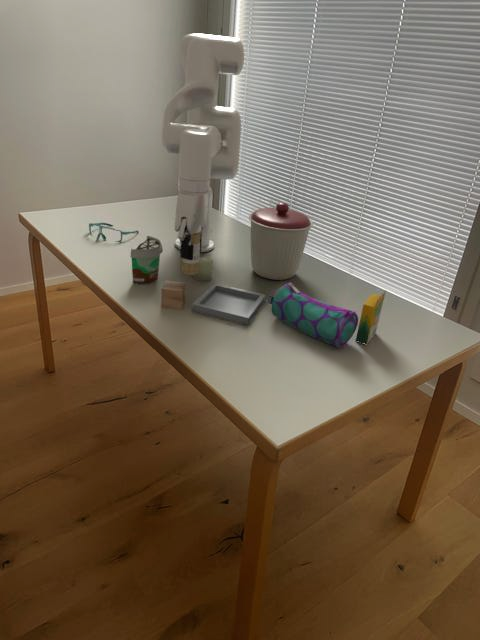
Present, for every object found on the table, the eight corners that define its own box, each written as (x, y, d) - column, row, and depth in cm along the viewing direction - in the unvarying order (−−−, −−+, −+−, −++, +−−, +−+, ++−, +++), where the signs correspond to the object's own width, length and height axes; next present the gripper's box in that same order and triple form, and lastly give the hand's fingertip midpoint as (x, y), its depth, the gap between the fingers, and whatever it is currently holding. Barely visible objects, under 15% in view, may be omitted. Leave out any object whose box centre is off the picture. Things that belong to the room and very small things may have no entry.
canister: (315, 275, 149) (327, 205, 139) (280, 291, 137) (291, 216, 127) (267, 257, 159) (275, 191, 149) (230, 271, 146) (237, 199, 136)
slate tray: (213, 289, 134) (214, 282, 133) (265, 301, 130) (265, 294, 129) (191, 311, 122) (192, 304, 121) (247, 325, 118) (248, 318, 117)
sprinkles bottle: (194, 267, 134) (197, 219, 127) (201, 274, 130) (204, 225, 123) (178, 269, 132) (180, 220, 125) (184, 276, 128) (186, 226, 122)
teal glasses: (81, 236, 160) (81, 221, 158) (109, 229, 173) (109, 215, 171) (118, 245, 156) (118, 230, 154) (143, 237, 169) (144, 223, 167)
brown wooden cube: (165, 298, 127) (165, 280, 124) (184, 300, 127) (185, 282, 124) (161, 307, 122) (161, 288, 120) (181, 309, 122) (182, 291, 120)
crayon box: (364, 329, 122) (374, 286, 116) (376, 333, 121) (387, 289, 115) (354, 341, 116) (364, 296, 111) (366, 345, 115) (378, 300, 109)
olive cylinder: (198, 272, 143) (199, 255, 141) (214, 275, 142) (215, 259, 140) (191, 278, 139) (191, 261, 137) (207, 282, 138) (208, 265, 135)
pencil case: (264, 320, 122) (269, 284, 117) (286, 309, 128) (292, 275, 123) (335, 356, 110) (344, 317, 105) (356, 343, 116) (365, 306, 111)
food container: (153, 289, 130) (153, 253, 126) (130, 285, 131) (130, 249, 127) (168, 272, 141) (169, 238, 136) (147, 268, 142) (147, 235, 137)
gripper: (194, 174, 128) (190, 242, 137) (164, 189, 113) (162, 263, 123) (221, 180, 126) (216, 247, 135) (194, 195, 112) (190, 270, 121)
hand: (190, 254), depth 129 cm, fingers closed on sprinkles bottle, 4 cm apart
